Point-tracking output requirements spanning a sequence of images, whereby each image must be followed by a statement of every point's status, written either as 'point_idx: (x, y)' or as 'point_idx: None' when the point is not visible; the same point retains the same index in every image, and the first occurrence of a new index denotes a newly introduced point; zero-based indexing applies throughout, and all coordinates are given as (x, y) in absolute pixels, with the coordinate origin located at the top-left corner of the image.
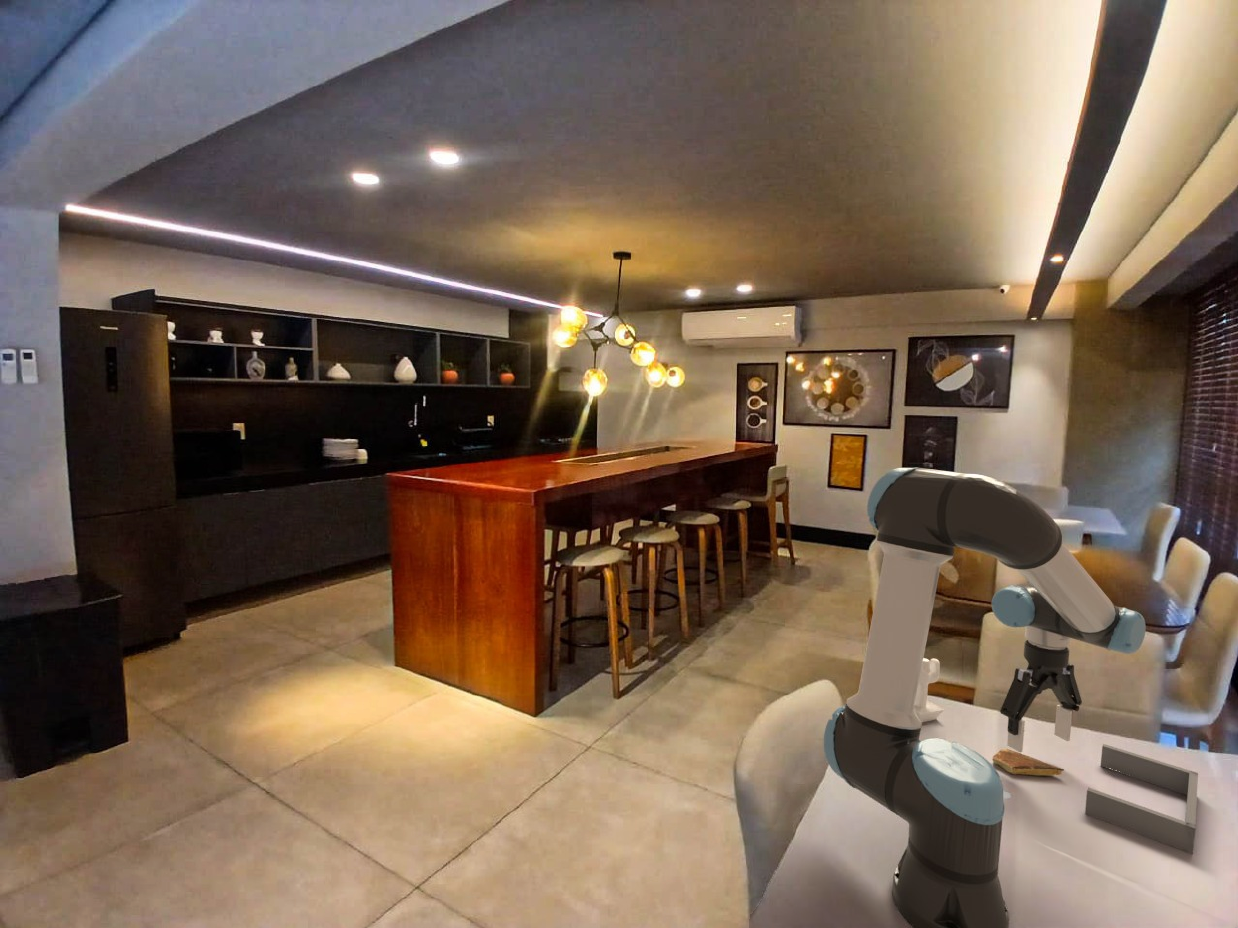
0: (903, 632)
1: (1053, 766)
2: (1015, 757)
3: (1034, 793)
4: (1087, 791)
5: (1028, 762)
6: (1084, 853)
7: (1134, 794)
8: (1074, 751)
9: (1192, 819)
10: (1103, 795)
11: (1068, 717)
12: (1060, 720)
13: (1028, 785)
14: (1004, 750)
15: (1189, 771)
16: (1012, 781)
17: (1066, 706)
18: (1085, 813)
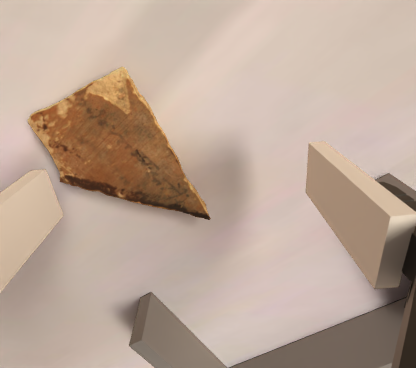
0: None
1: (193, 201)
2: (108, 140)
3: (81, 234)
4: (130, 342)
5: (131, 171)
6: (48, 357)
7: (312, 274)
8: (397, 99)
9: None
10: (150, 360)
11: (352, 254)
12: (340, 197)
13: (90, 208)
14: (106, 86)
15: None
16: (57, 187)
17: (413, 264)
18: (140, 298)
